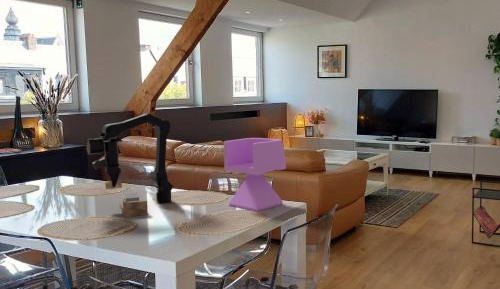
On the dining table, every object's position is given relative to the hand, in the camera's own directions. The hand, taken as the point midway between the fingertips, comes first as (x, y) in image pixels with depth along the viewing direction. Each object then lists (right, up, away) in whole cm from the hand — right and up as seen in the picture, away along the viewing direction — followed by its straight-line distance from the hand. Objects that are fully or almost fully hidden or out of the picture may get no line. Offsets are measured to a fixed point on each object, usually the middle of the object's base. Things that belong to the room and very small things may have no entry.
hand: (113, 186), depth 225 cm
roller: (0, +1, 0) cm, 1 cm away
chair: (+65, -9, +3) cm, 65 cm away
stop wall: (+12, -12, -11) cm, 20 cm away
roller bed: (+9, -11, 0) cm, 14 cm away
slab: (+7, -7, +5) cm, 11 cm away
